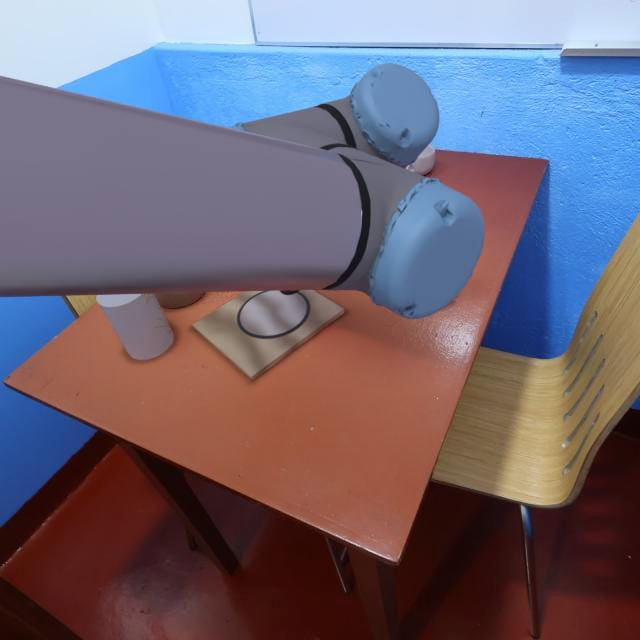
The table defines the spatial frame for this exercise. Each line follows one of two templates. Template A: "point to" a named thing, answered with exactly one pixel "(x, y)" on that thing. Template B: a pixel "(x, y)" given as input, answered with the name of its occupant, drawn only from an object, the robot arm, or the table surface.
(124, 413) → the table surface
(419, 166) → the teacup
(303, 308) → the board
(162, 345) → the light grey upright cylinder
